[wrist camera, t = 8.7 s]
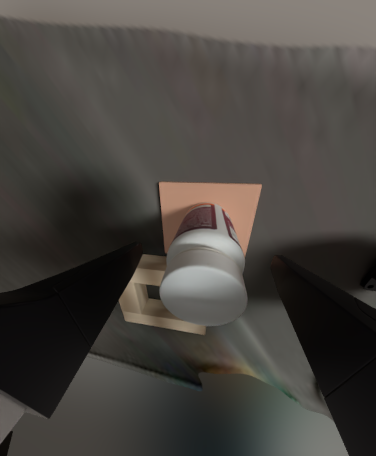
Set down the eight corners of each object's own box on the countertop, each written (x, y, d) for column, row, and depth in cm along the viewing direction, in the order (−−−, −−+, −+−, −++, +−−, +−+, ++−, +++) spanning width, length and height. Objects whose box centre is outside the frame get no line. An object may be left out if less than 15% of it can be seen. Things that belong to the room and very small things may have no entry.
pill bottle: (177, 234, 14) (142, 310, 7) (193, 193, 12) (165, 240, 5) (218, 250, 15) (225, 342, 7) (240, 212, 12) (284, 287, 5)
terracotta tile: (259, 183, 12) (262, 184, 11) (242, 257, 15) (244, 260, 15) (161, 181, 13) (158, 182, 12) (166, 249, 16) (165, 252, 16)
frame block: (211, 260, 16) (211, 276, 14) (205, 316, 21) (205, 334, 19) (119, 251, 18) (106, 264, 15) (133, 305, 22) (125, 321, 20)
